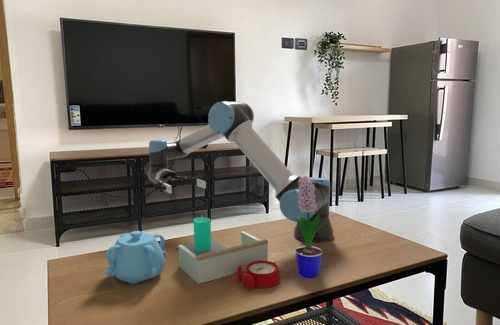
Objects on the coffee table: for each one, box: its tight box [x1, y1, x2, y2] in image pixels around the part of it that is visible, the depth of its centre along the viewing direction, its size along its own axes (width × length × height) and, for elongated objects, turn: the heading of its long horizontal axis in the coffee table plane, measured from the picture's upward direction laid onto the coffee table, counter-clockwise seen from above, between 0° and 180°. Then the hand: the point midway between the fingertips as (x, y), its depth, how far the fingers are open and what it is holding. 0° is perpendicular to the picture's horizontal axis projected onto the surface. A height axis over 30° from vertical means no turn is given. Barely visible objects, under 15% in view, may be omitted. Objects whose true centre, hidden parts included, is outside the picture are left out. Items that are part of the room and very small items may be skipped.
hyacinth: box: [294, 175, 328, 279], centre depth 112 cm, size 9×10×30 cm
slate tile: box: [176, 238, 227, 256], centre depth 133 cm, size 14×14×1 cm
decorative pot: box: [105, 230, 167, 285], centre depth 113 cm, size 16×16×14 cm
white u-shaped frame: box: [178, 231, 269, 285], centre depth 120 cm, size 24×14×8 cm, turn 123°
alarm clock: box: [230, 260, 287, 290], centre depth 109 cm, size 11×6×15 cm
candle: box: [193, 216, 212, 251], centre depth 132 cm, size 6×6×12 cm
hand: (188, 187), depth 138 cm, fingers open, 13 cm apart
